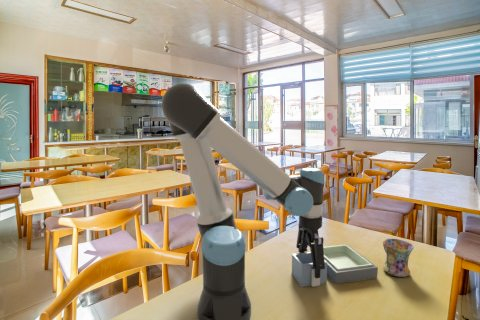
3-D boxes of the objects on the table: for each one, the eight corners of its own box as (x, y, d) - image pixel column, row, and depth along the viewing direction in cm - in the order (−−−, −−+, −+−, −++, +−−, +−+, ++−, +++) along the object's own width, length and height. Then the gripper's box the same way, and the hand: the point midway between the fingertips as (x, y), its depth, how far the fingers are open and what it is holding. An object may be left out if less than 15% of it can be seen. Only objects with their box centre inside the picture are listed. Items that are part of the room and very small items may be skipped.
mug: (417, 277, 100) (420, 248, 98) (393, 280, 98) (396, 251, 96) (393, 261, 111) (395, 234, 110) (371, 263, 110) (373, 236, 108)
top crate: (337, 279, 98) (337, 269, 97) (314, 256, 113) (315, 247, 113) (371, 274, 100) (372, 264, 100) (345, 253, 116) (345, 244, 115)
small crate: (301, 286, 95) (301, 265, 94) (291, 273, 103) (292, 253, 102) (326, 283, 97) (327, 262, 96) (315, 270, 105) (315, 251, 104)
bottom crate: (335, 284, 96) (336, 272, 96) (310, 257, 114) (310, 248, 114) (377, 278, 100) (377, 267, 99) (346, 253, 117) (346, 244, 117)
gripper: (338, 225, 87) (335, 294, 90) (306, 204, 108) (305, 260, 111) (315, 227, 85) (313, 298, 88) (287, 205, 106) (286, 263, 110)
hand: (308, 277), depth 100 cm, fingers open, 9 cm apart
